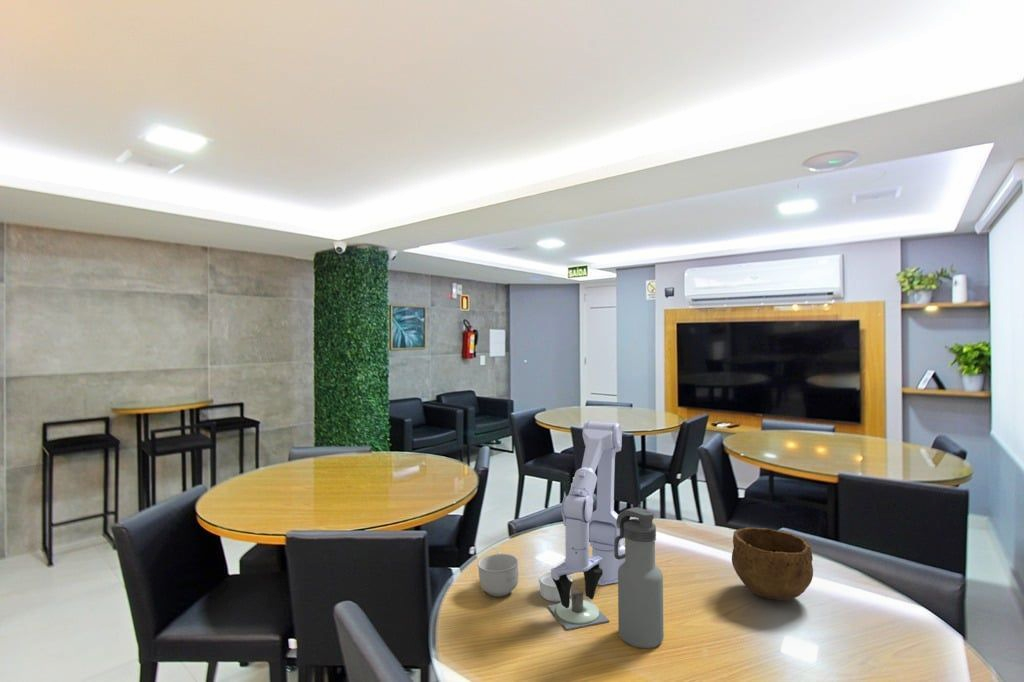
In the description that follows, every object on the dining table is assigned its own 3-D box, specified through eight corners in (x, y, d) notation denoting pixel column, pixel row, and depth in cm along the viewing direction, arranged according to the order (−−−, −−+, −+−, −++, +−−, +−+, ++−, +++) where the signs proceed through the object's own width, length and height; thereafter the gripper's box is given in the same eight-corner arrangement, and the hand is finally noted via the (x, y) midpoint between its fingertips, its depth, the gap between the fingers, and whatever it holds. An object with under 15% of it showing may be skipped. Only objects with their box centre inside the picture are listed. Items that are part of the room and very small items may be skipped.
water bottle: (607, 633, 111) (606, 509, 112) (635, 619, 117) (634, 501, 118) (644, 655, 103) (643, 521, 104) (672, 639, 109) (671, 511, 110)
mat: (587, 599, 127) (587, 598, 127) (609, 621, 116) (609, 620, 116) (548, 607, 123) (548, 605, 123) (566, 630, 113) (566, 628, 113)
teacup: (514, 603, 125) (514, 571, 126) (473, 598, 127) (473, 567, 128) (523, 578, 139) (523, 549, 139) (486, 575, 141) (486, 546, 141)
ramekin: (534, 589, 133) (534, 572, 133) (565, 585, 135) (565, 569, 135) (544, 605, 124) (544, 588, 124) (577, 601, 126) (577, 584, 126)
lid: (580, 597, 127) (580, 579, 127) (608, 616, 118) (608, 596, 118) (547, 608, 122) (547, 589, 122) (574, 628, 113) (573, 608, 113)
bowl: (808, 586, 133) (807, 531, 134) (818, 621, 116) (817, 557, 117) (732, 573, 141) (731, 521, 142) (731, 604, 124) (730, 544, 125)
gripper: (589, 534, 127) (589, 587, 127) (543, 546, 120) (543, 602, 119) (608, 543, 121) (608, 599, 121) (561, 556, 114) (561, 615, 113)
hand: (577, 601), depth 120 cm, fingers open, 7 cm apart
